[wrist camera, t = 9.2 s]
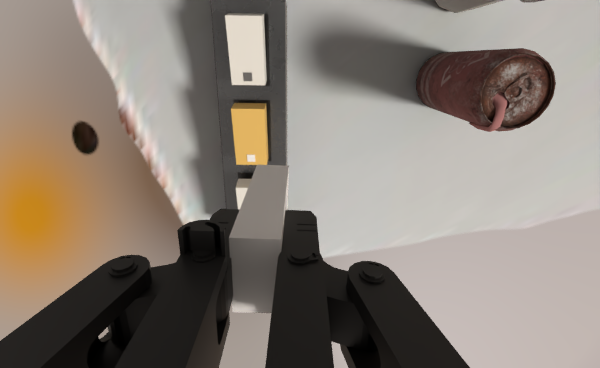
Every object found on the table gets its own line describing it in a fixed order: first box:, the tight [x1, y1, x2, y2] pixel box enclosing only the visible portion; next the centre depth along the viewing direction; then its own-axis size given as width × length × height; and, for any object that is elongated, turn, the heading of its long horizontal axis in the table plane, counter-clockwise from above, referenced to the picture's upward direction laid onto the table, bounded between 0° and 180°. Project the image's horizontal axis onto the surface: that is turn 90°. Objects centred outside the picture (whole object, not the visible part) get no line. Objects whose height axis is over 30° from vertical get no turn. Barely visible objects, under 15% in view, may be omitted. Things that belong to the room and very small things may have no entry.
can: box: [416, 48, 556, 132], centre depth 31 cm, size 6×6×14 cm
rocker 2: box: [236, 179, 251, 209], centre depth 36 cm, size 6×3×2 cm, turn 179°
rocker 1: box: [225, 13, 267, 85], centre depth 31 cm, size 6×3×2 cm, turn 179°
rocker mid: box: [231, 103, 268, 165], centre depth 34 cm, size 6×3×2 cm, turn 179°
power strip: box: [211, 0, 287, 209], centre depth 36 cm, size 31×7×4 cm, turn 179°
